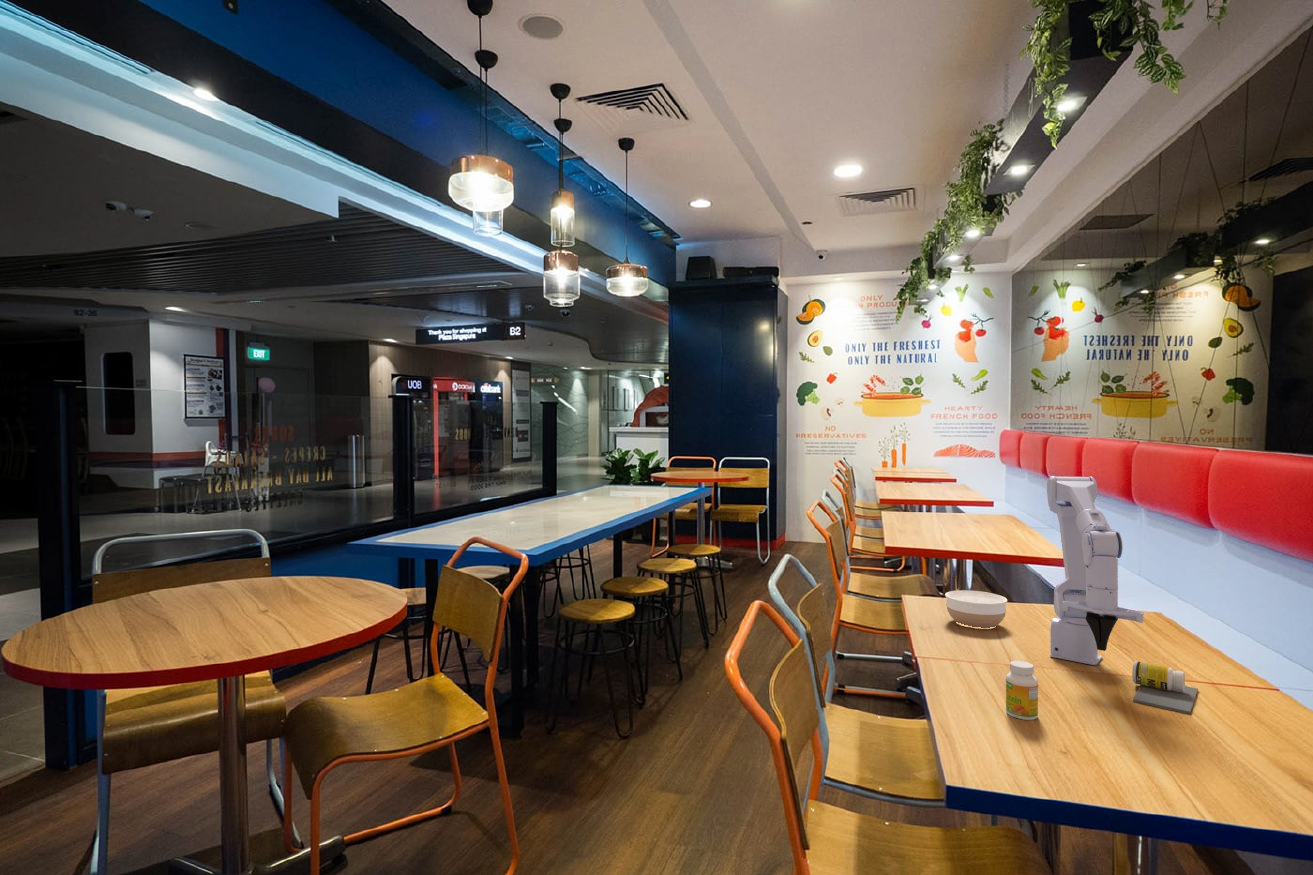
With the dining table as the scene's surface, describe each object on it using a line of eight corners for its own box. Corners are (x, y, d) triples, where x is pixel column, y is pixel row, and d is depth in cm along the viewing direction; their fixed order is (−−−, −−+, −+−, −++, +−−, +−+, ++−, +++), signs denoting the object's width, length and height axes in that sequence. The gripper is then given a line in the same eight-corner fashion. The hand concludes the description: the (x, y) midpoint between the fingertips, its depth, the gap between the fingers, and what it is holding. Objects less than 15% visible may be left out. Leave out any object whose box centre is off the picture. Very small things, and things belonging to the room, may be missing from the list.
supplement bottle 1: (999, 711, 128) (999, 661, 128) (1019, 707, 130) (1018, 657, 130) (1024, 722, 123) (1024, 670, 123) (1044, 717, 125) (1044, 666, 125)
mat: (1132, 701, 132) (1132, 699, 132) (1144, 680, 144) (1144, 677, 144) (1190, 714, 126) (1190, 711, 126) (1197, 690, 138) (1197, 688, 138)
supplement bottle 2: (1131, 678, 139) (1181, 688, 133) (1133, 656, 141) (1183, 666, 135) (1134, 687, 142) (1184, 697, 136) (1136, 666, 144) (1186, 675, 138)
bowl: (953, 631, 181) (953, 602, 181) (938, 615, 197) (938, 589, 197) (1016, 633, 179) (1016, 604, 179) (996, 618, 194) (996, 591, 194)
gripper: (1058, 584, 145) (1059, 646, 145) (1140, 595, 135) (1140, 661, 135) (1066, 579, 150) (1066, 639, 150) (1145, 589, 140) (1145, 653, 140)
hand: (1101, 649), depth 143 cm, fingers closed
